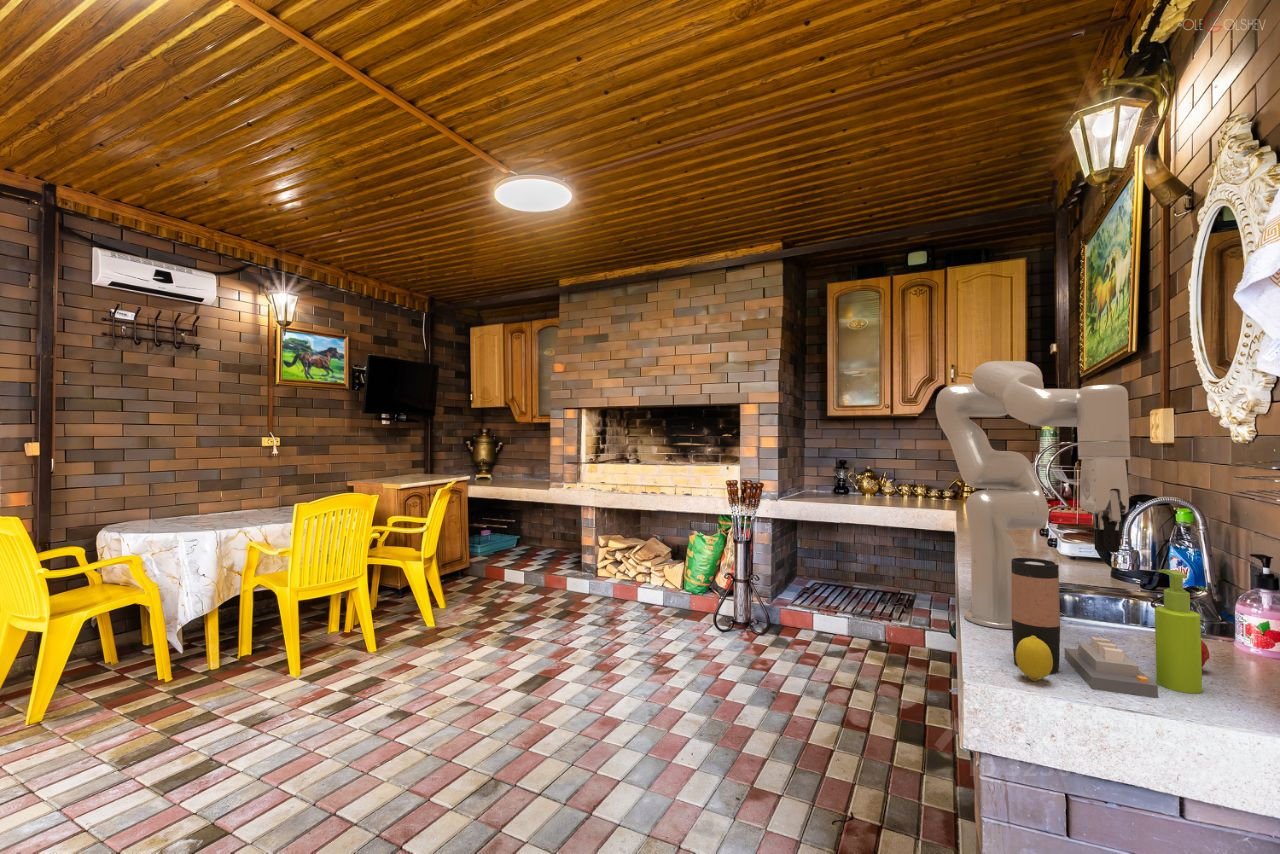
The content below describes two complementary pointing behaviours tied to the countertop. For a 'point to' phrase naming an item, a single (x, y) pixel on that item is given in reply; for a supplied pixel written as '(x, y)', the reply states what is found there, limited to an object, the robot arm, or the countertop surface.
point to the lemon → (1034, 658)
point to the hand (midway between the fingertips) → (1106, 551)
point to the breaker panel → (1110, 679)
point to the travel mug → (1036, 604)
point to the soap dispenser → (1178, 639)
